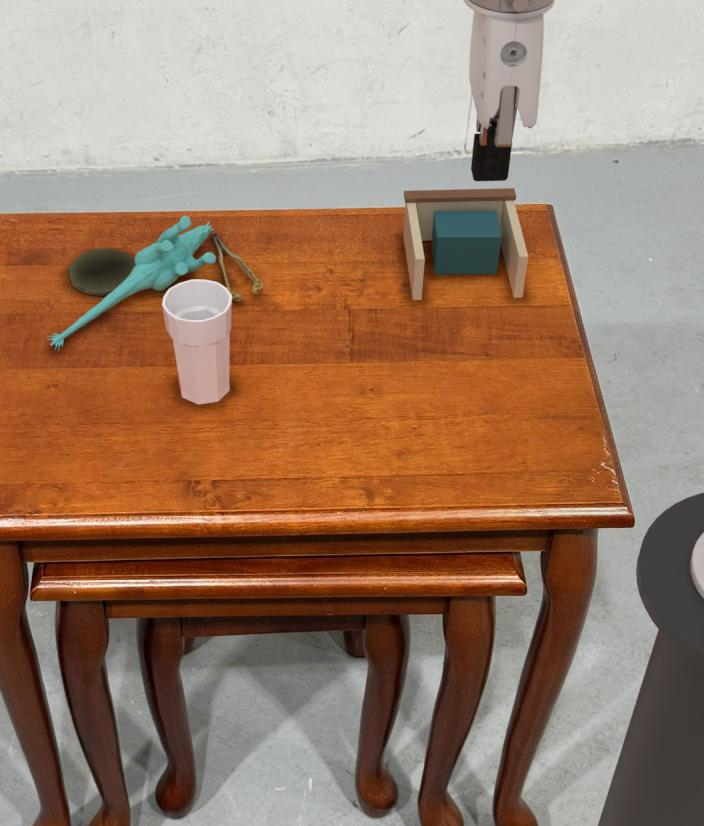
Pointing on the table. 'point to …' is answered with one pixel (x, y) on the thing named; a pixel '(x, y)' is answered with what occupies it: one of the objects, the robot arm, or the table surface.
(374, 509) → the table surface
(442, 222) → the box
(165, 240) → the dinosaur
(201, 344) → the cup
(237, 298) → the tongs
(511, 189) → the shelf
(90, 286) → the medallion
